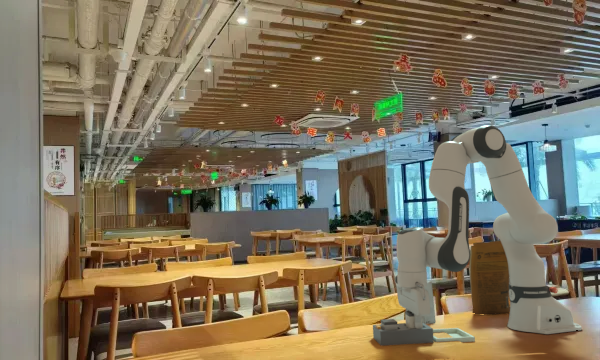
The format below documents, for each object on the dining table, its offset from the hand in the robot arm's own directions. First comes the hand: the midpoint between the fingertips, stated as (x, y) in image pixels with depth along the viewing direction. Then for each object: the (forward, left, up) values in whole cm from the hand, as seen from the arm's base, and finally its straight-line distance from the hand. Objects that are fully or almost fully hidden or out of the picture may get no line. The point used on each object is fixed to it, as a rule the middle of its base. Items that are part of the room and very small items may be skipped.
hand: (414, 326), depth 145 cm
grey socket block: (+4, 0, -5) cm, 6 cm away
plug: (0, 0, -2) cm, 2 cm away
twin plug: (+8, 0, -4) cm, 9 cm away
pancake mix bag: (-43, -35, -5) cm, 56 cm away
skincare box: (-11, -26, -5) cm, 29 cm away
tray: (-11, -2, -5) cm, 12 cm away
